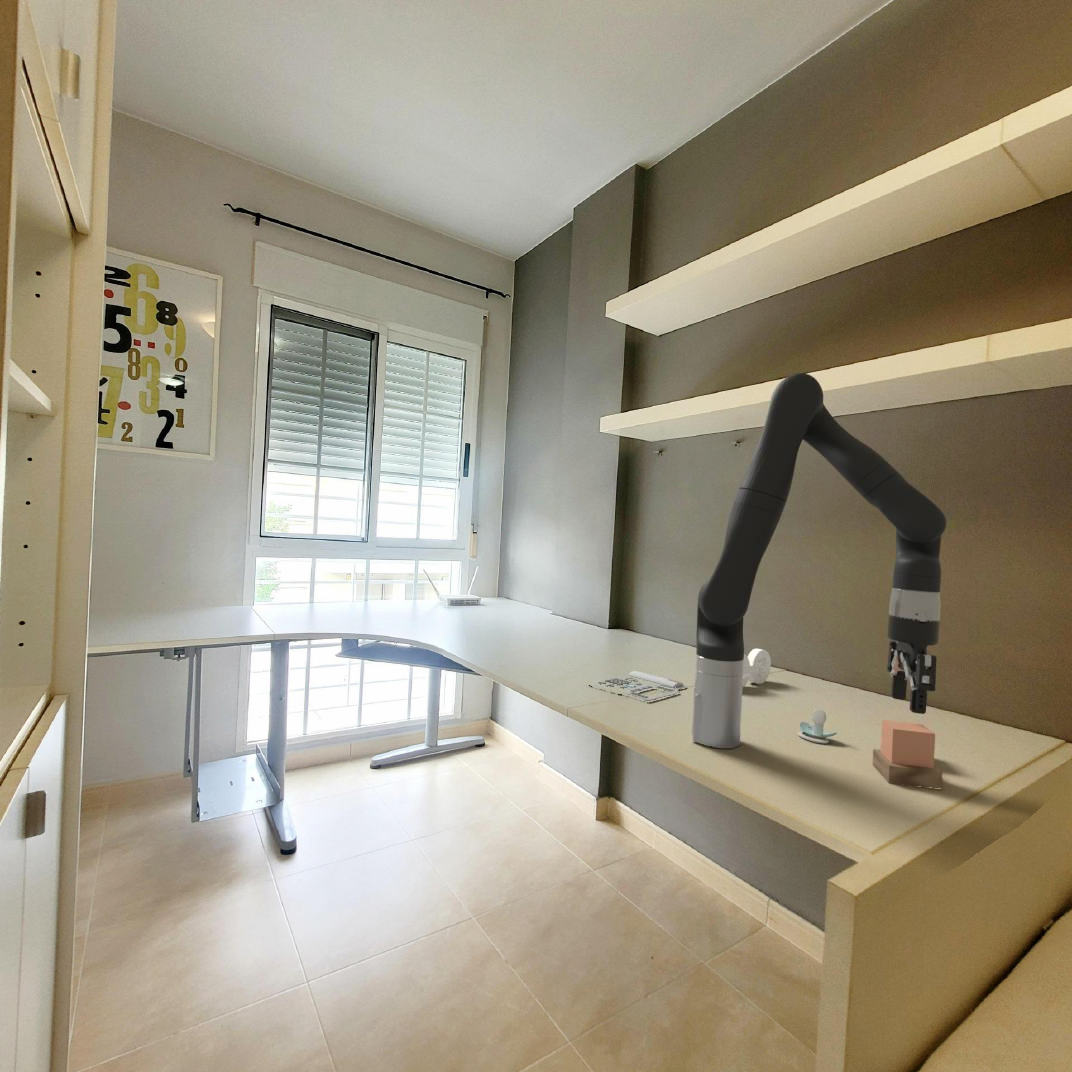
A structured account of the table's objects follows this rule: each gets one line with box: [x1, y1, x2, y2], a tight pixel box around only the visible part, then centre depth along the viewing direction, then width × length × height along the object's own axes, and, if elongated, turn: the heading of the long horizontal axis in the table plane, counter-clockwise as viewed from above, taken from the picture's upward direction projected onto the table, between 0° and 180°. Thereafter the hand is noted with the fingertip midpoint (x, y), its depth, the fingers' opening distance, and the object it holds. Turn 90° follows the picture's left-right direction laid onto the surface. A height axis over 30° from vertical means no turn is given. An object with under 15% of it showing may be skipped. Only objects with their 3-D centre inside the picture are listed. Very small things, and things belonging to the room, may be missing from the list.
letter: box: [743, 648, 772, 688], centre depth 157 cm, size 22×2×10 cm, turn 129°
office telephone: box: [595, 670, 688, 701], centre depth 150 cm, size 23×3×20 cm
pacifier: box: [797, 708, 838, 744], centre depth 116 cm, size 7×6×6 cm
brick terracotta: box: [880, 719, 936, 768], centre depth 98 cm, size 6×5×6 cm
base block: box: [872, 748, 943, 789], centre depth 98 cm, size 8×8×3 cm
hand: (907, 705), depth 98 cm, fingers open, 8 cm apart
